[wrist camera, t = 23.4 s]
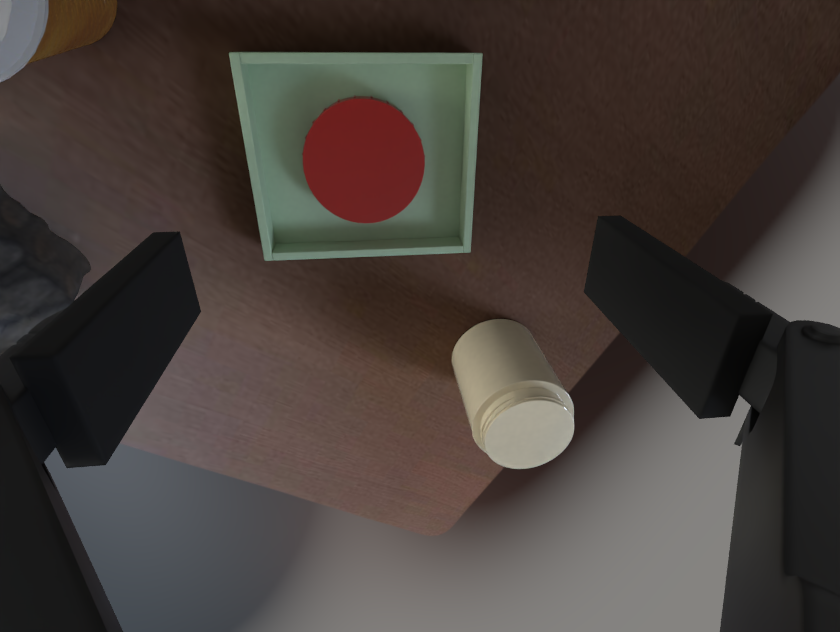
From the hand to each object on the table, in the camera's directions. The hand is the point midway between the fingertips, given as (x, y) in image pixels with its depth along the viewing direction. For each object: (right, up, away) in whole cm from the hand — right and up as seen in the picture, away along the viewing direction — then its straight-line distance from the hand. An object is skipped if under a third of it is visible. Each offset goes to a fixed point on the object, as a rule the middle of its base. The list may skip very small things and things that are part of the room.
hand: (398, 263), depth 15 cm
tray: (-3, +10, +19) cm, 21 cm away
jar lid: (-3, +9, +17) cm, 19 cm away
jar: (+8, -5, +29) cm, 30 cm away
